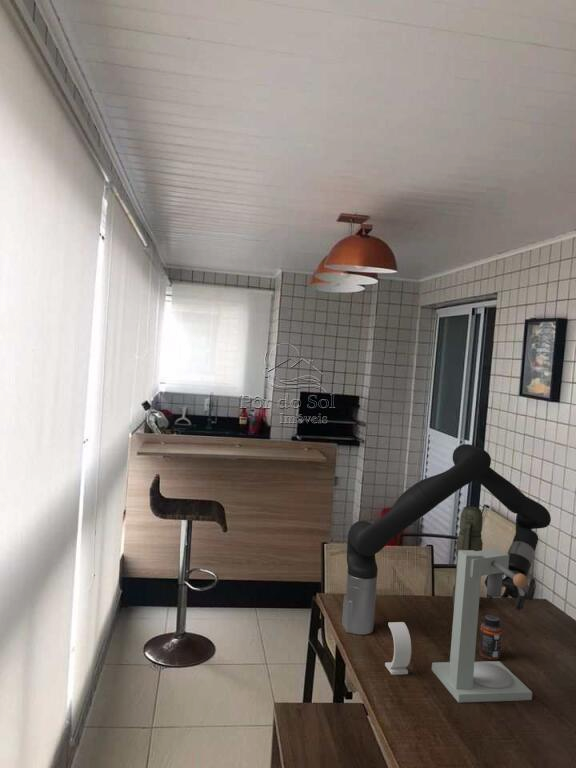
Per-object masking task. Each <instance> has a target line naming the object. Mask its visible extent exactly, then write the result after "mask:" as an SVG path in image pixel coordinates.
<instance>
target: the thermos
mask: <svg viewBox="0 0 576 768" xmlns="http://www.w3.org/2000/svg"><path fill="white" fill-rule="evenodd" d="M483 520H484V516H483V512H482V509H481V508H479V507H477V506H472V505H467V506H463V508H462V511H461V512H460V519H459V531H458V533H459V534H458V537H457V539H456V546H455V547H456V548H455V556H456V565H455V577H454V578H455V579H454V585H453V587H452V603H451V604H452V605H453V606H454V602H455V589H456V576H457V561H458V550H474V551H482V550H483V544H484V543H483V540H482V531H483Z"/></svg>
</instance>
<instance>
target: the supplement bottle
mask: <svg viewBox="0 0 576 768" xmlns="http://www.w3.org/2000/svg"><path fill="white" fill-rule="evenodd" d="M502 638H503V629H502V626H501V625H500V618H499V617H498V616H495V615H484V622H482V623H481V625H480V632H479V644H478V645H479V646H478V654H479V655H480V656H481V657H482V658H483V659H485V660H486V659H487V660H490V661H497V660H500V657H501V650H502Z"/></svg>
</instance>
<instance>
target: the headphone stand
mask: <svg viewBox="0 0 576 768" xmlns="http://www.w3.org/2000/svg"><path fill="white" fill-rule="evenodd" d="M387 623H388V624H387V625H388V627H389V629H390V632H391V636H392V638H393V658H392V661H391V662H390V661H389V662H387V661H386V662H385V663H384V666H385V667H386V669H387V670H388V671H389V672H390V674H391V675H393V676H395V675H399V676H400V675H408V674H409V670H408V669H407V667H408V666H409V664H410V662H411V658H412V641H411V635H410V631H409V628H408V627H407V625H406V623H405V622H404V621H398V622H397V621H395V622H393V621H391V622H390V621H389V622H387Z"/></svg>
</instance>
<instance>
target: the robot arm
mask: <svg viewBox="0 0 576 768" xmlns="http://www.w3.org/2000/svg"><path fill="white" fill-rule="evenodd" d="M452 463H453V464H454V465H453V466H451V467H450V468H449V469H447V470H445V471H443V472H441V473H437V474H436V475H432V476H429V477H426V478H423V479H421V480H420V481H418V482H416V483H415V484H413V485H412V486H411V487H409V488H408V489H406V490H405V491H404V492H403V493H402V494H401V495H400V496H399V497H398V498H397V500H396V501H395V502H394V504H393V505H392V507H391V508H390V509H389V511H388V512H387V513H386V514H384V515H383V516H381V517H380V518H379V519H377V520H376V521H374V522H373V523H371V522H369V521H366V520H358V521H355V523H353V524H352V525H351V526H350V528H349V530H348V533H347V542H346V543H347V545H346V564H347V578H346V589H345V590H346V591H345V594H344V595H343V602H342V603H343V604H342V616H341V617H342V618H341V626H342V627H343V629H344V630H345V632H346V633H349V634H350V633H351V634H355V635H363V636H364V635H369V634H372V633H373V631H374V625H375V612H376V611H375V609H376V596H377V581H378V572H379V571H378V570H379V568H378V565H377V560H376V554H378V553H379V552H381V551H382V550H383V548H384V547H386V546H387V545H388V544H389V543H390V542H391V541H392V540H393V539H395V538H396V537H397V536H398V535H399V534H400V533H401V532H403V531H404V530H405V529H407V528H409V527H410V526H411V525H413V524H414V523H415V522H417V521H418V520H419V519H421V518H422V517H424V516H425V515H427V514H428V513H429V512H430V511H432V510H433V509H435V508H436V507H437V506H439V504H441V503H442V502H444V501H445V500H447V499H448V498H449V497H450V496H452V495H453V494H454V493H455V492H457V491H459V490H460V489H462V488H464V487H465V486H467V485H469V484H470V483H472V482H474V481H477V482H478V483H479V484H480V485H482V486H483V488H485V489H486V490H487V491H488V492H489V493H490V494H491V495H492V496H493V497H494V498H496V499H497V500H498V501H499V502H500V503H501V504H502V505H503V506H504V507H505V508H507V510H509V511H510V512H511V513H513V514H514V515H516V517H515V534H514V537H513V538H512V539H513V540H512V542H511V545H510V547H509V548H508V551H507V553H506V554H509V566H508V570H510V571H511V572H513V573H515V574H523V575H525V576H526V578H527V580H528V583H527V586H528V589H527V593H525V591H524V589H523V588H519V587H517V586H516V585H515V584H514V582H513V579H512V578H510V577H509V576H507V575H505V574H504V573H503V578H502V588H503V587H504V588H506V589H510V590H512V591H516V590H517V591H518V594H519V595H518V599H517V601H516V604H515V609H516V611H520V610H522V609H523V607H524V604H525V601H526V600H529V601H532V600H534V594H535V591H536V589H537V583H536V580H535V578H531V579H530V578H528V575H529V571H530V569H531V567H532V564H533V560H534V554H535V551H536V548H537V545H538V544H539V543H538V542H539V536H538V534H537V533H536V532H535V531H533V530H536V529H545V528H547V527H549V525H550V524H551V520H552V518H551V517H552V516H551V514H550V512H549V511H548V509H547V508H546V507H545V506H544V505H542V504H541V503H539V502H538V501H536V500H534V499H532V498H530V497H528V496H526V494H525V493H523V492H522V491H521V490H520V489H519V488H518V487H517V486H516V485H514V484H513V483H512V482H511V481H509V480H508V479H506V478H505V477H503V475H501V474H499V473H498V472H497V471H495V470H494V469H493V468H492V467H491V464H492V458H491V455H490V454H489V453H488V451H486V450H484V449H483V448H480V447H478V446H475V445H473V444H469V443H464V444H460V445H458V446H457V447H456V448H455V449H454V450H453V453H452ZM487 582H488V575H486V578H485V580H484V584H485V587H486V588H487ZM486 598H487V600H488V602H491V603H492V601H493V599H494V597H493V596H489V595H488V594H487V593H486Z"/></svg>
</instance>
